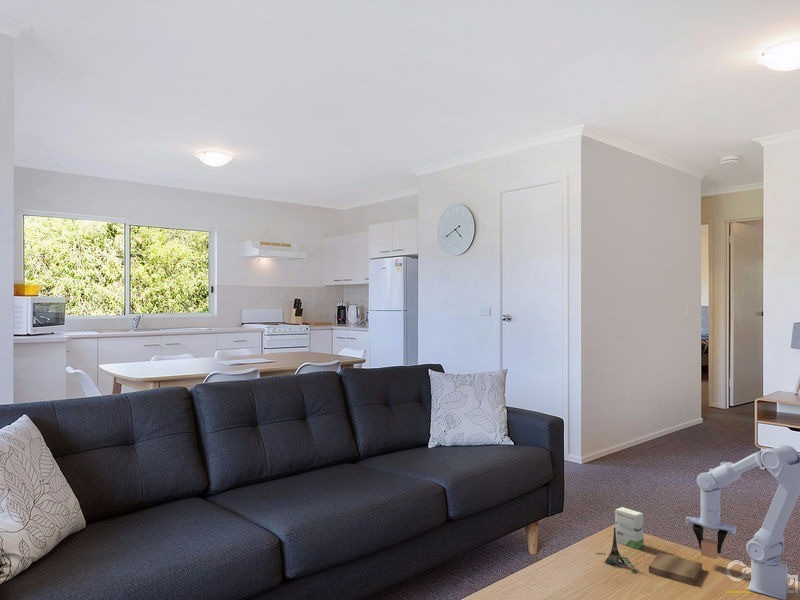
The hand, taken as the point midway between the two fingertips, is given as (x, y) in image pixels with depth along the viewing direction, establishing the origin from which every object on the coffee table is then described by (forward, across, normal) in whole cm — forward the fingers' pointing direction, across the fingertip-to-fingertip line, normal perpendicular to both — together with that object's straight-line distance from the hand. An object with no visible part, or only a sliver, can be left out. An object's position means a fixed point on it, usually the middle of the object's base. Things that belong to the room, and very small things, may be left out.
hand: (710, 550), depth 189 cm
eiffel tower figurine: (+6, +25, +17) cm, 31 cm away
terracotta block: (+1, 0, 0) cm, 1 cm away
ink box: (+5, +26, -1) cm, 27 cm away
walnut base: (+5, +8, +11) cm, 15 cm away
